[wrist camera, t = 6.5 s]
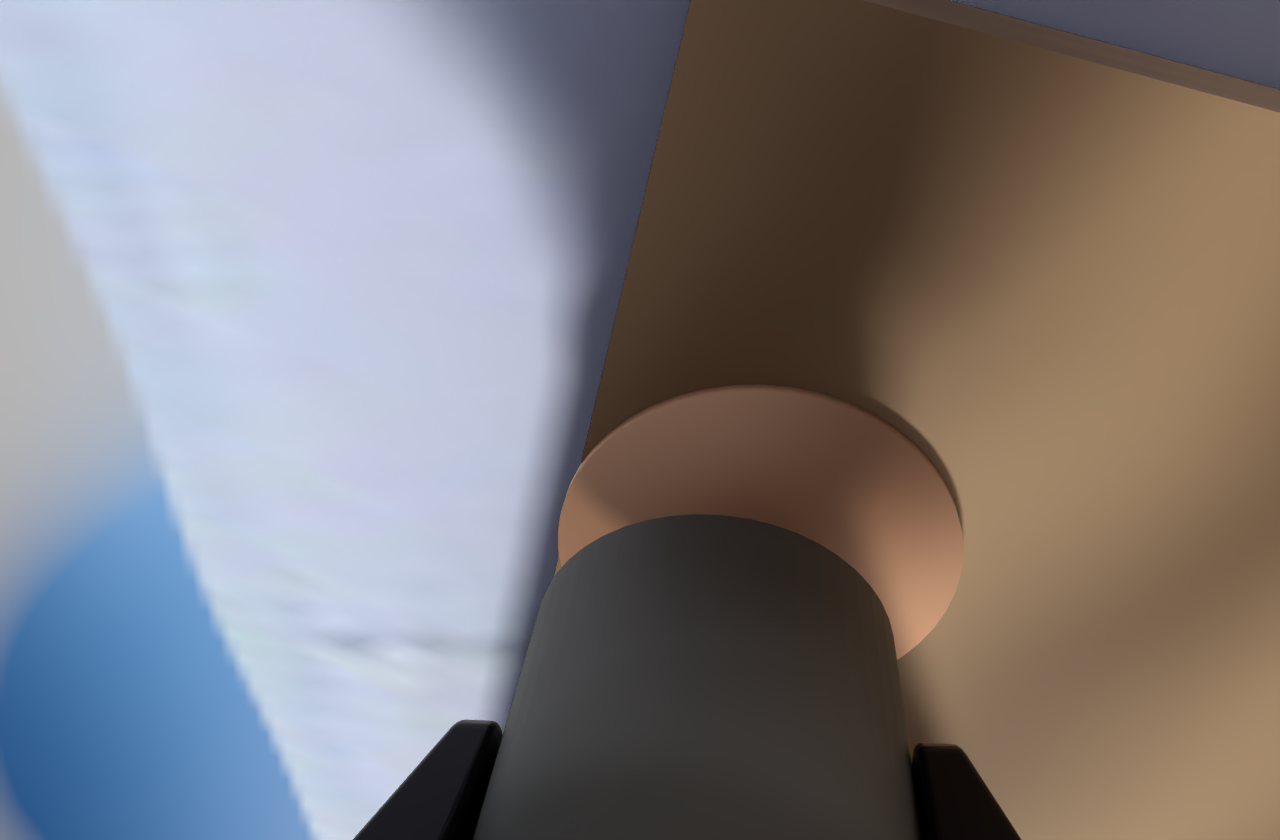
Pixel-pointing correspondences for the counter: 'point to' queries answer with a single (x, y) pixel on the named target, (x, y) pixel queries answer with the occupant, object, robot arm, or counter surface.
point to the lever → (705, 696)
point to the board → (981, 383)
